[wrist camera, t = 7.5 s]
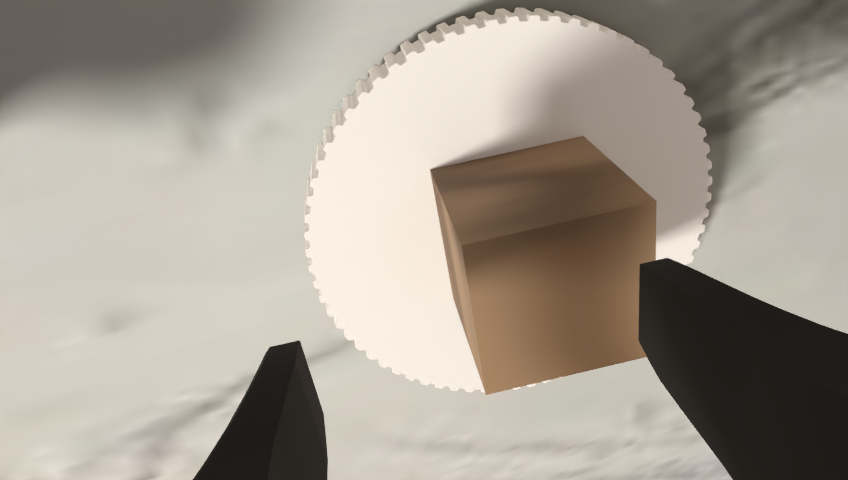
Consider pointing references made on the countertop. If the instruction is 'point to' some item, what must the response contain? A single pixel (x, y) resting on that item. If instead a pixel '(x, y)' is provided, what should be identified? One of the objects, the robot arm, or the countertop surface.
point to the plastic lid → (473, 139)
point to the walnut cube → (545, 260)
